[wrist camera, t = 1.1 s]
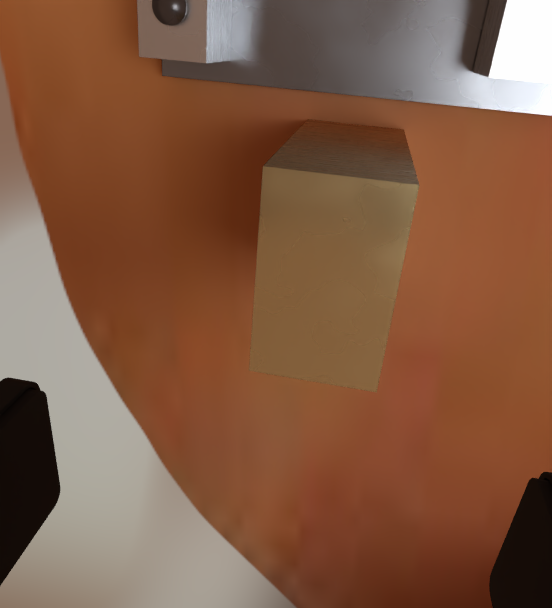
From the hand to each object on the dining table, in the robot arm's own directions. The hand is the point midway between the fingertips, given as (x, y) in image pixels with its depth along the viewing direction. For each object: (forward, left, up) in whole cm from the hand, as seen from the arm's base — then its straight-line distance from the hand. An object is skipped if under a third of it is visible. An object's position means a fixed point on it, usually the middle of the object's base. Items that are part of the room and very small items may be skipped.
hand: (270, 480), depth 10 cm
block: (0, 0, -21) cm, 21 cm away
